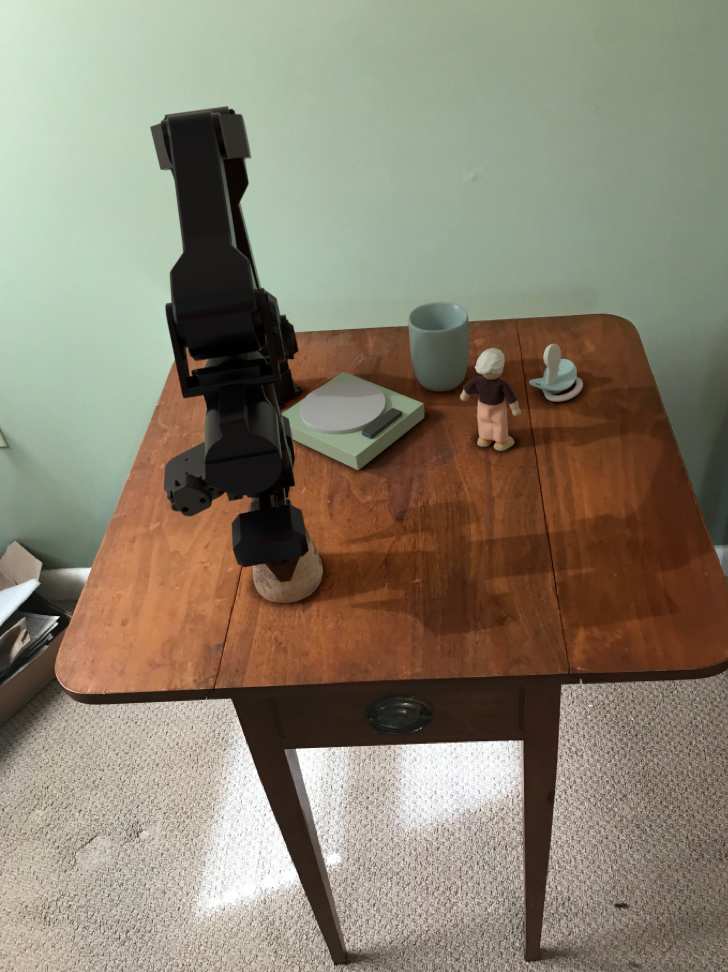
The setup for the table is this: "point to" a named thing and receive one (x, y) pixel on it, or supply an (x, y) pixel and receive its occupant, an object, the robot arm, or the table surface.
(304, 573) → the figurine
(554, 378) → the pacifier
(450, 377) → the cup
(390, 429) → the kitchen scale
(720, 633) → the table surface
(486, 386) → the grandmother figurine
